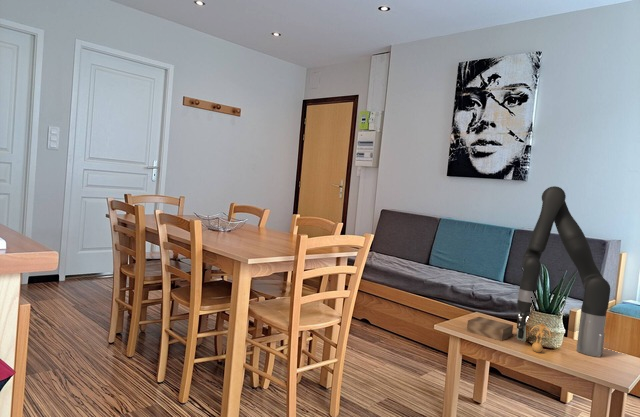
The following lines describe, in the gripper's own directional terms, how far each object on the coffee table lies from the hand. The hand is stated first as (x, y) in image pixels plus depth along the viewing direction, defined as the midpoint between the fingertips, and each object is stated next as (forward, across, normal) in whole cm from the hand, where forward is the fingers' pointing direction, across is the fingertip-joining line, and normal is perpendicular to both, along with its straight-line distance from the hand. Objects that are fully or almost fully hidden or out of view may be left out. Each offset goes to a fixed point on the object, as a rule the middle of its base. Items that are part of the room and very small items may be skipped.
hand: (522, 336), depth 203 cm
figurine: (+1, -13, -10) cm, 16 cm away
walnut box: (+1, -5, +13) cm, 14 cm away
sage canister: (+1, 0, 0) cm, 1 cm away
